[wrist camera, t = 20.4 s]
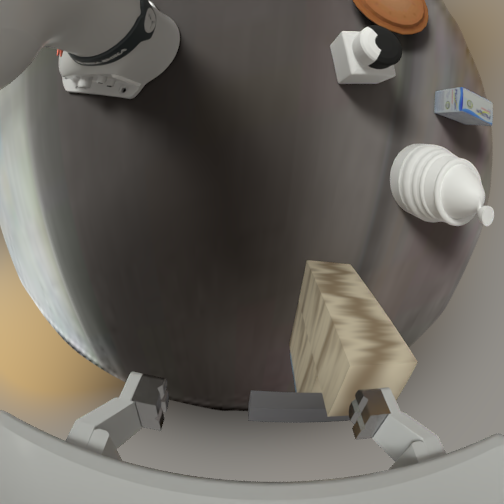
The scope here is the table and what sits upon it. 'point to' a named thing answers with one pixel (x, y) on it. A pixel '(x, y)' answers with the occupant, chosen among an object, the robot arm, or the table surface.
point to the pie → (396, 14)
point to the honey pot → (438, 186)
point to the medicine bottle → (365, 55)
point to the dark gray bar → (289, 407)
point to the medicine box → (464, 106)
